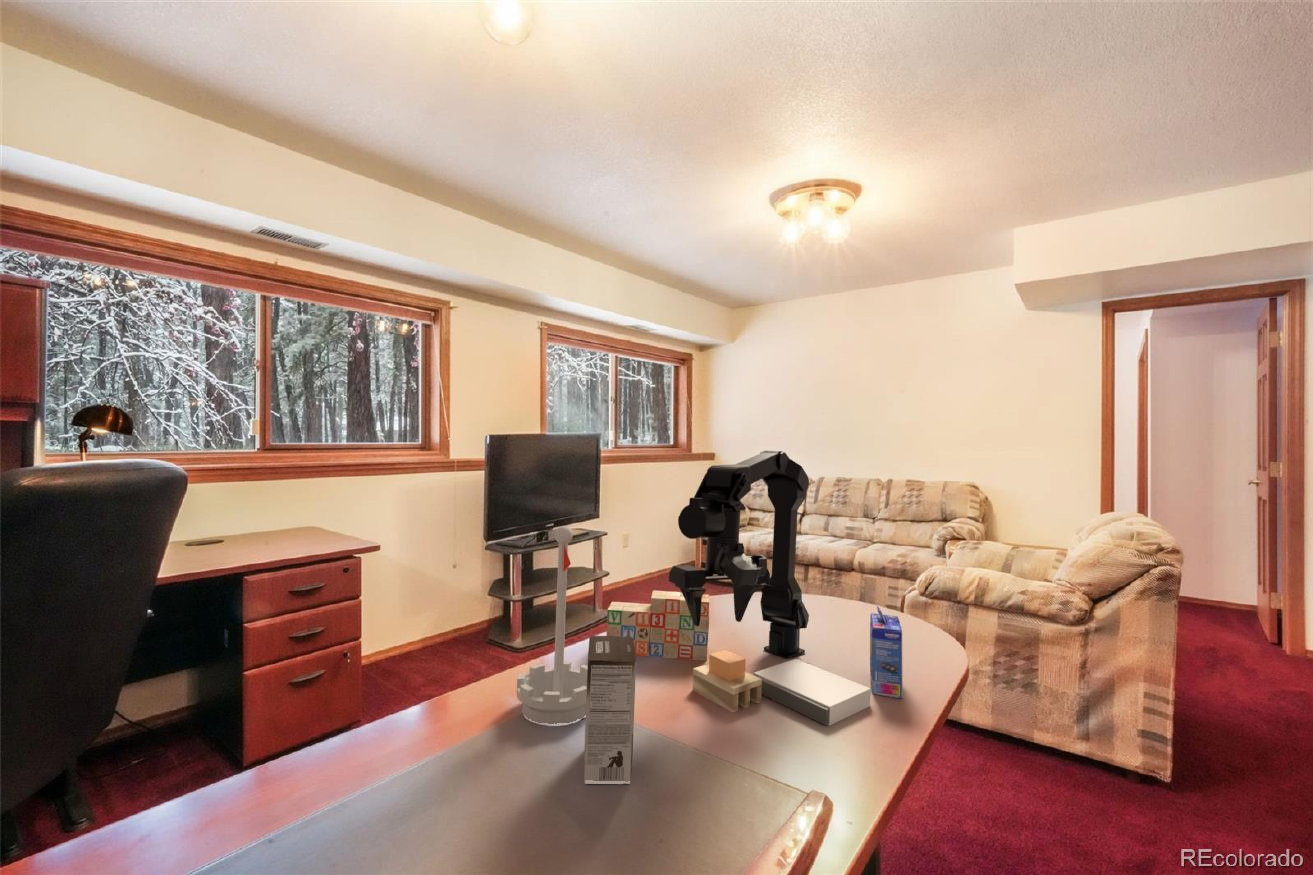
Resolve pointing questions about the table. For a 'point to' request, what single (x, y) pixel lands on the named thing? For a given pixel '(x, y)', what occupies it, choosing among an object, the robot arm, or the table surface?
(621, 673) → the coffee box
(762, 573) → the robot arm
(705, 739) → the table surface
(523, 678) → the flag stand
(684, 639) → the stack of blocks
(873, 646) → the ink cartridge box
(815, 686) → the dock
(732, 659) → the tan cardboard cube
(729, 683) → the pallet
